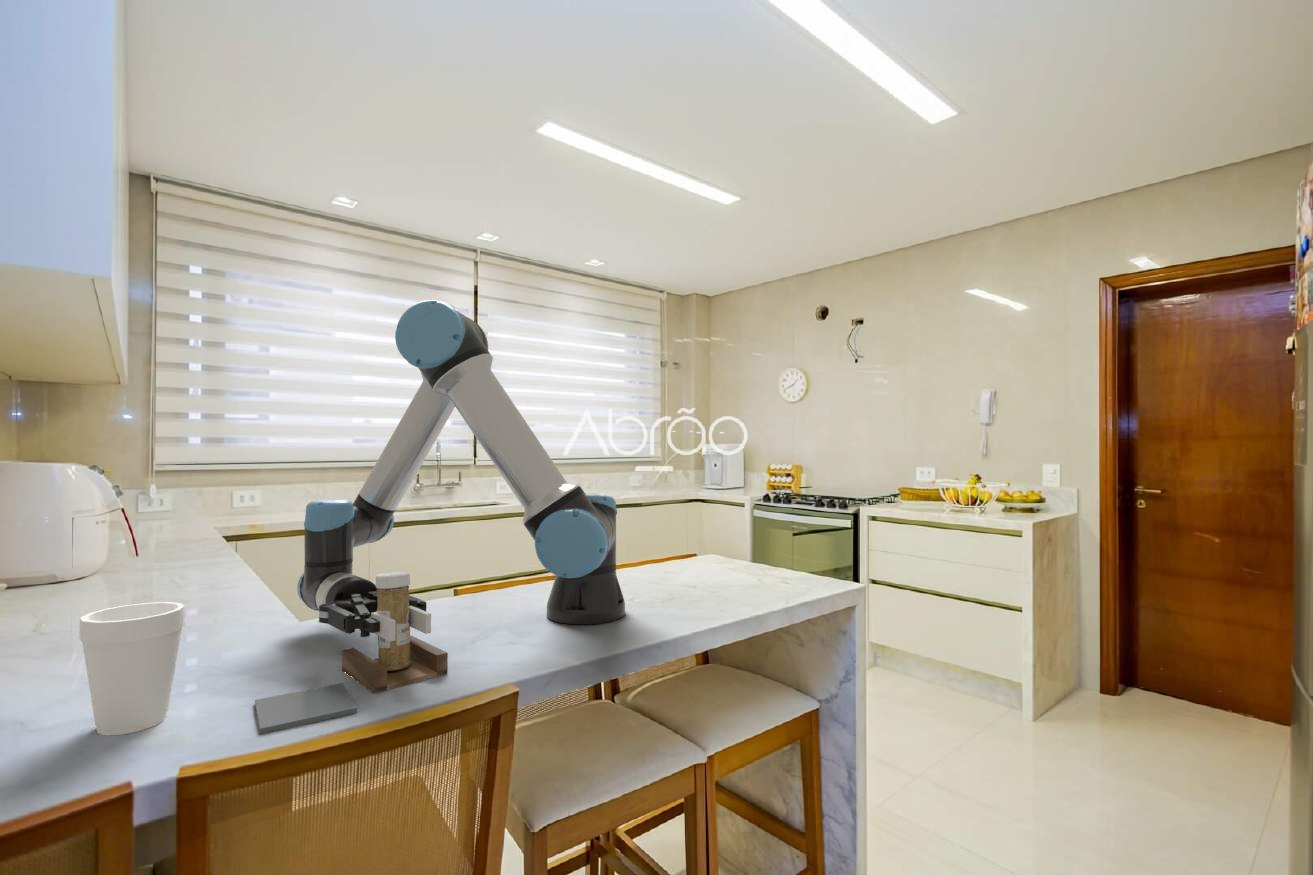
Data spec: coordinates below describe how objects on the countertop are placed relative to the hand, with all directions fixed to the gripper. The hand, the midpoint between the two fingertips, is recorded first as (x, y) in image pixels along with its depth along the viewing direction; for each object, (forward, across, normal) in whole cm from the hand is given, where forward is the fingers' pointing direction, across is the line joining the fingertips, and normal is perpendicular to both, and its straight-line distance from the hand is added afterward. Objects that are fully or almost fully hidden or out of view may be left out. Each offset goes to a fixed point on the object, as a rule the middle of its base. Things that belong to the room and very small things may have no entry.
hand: (410, 627), depth 87 cm
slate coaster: (-1, +13, -8) cm, 15 cm away
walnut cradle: (-5, 0, -8) cm, 9 cm away
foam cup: (-10, +29, -8) cm, 31 cm away
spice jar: (-5, 0, -7) cm, 9 cm away
